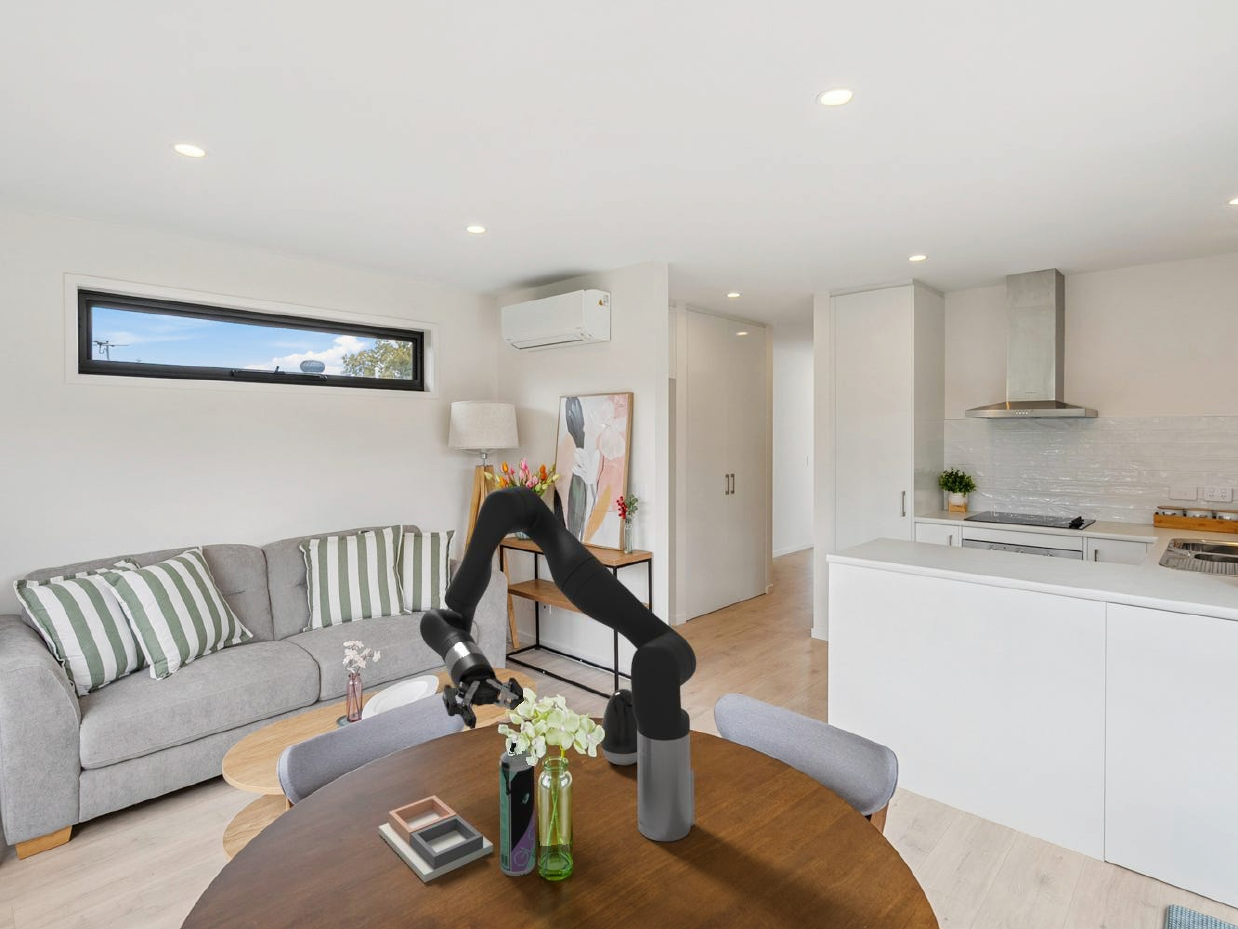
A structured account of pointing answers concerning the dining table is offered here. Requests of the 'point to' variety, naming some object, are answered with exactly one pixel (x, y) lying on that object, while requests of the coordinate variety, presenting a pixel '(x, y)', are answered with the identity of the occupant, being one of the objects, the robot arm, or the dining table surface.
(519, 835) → the spray can
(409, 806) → the board
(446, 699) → the robot arm
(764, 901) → the dining table surface
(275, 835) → the dining table surface
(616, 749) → the black egg shaped dome
